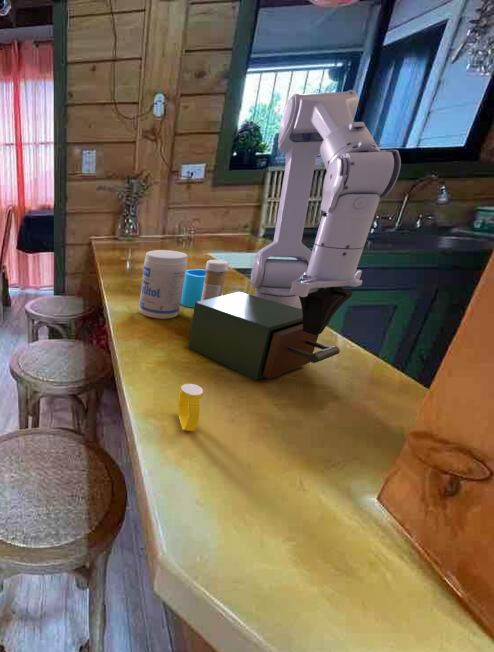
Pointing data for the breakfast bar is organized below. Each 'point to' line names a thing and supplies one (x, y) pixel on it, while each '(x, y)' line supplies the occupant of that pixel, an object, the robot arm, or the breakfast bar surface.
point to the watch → (189, 406)
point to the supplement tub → (162, 283)
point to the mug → (193, 287)
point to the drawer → (293, 350)
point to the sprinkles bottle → (214, 279)
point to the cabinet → (238, 329)
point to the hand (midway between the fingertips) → (311, 332)
